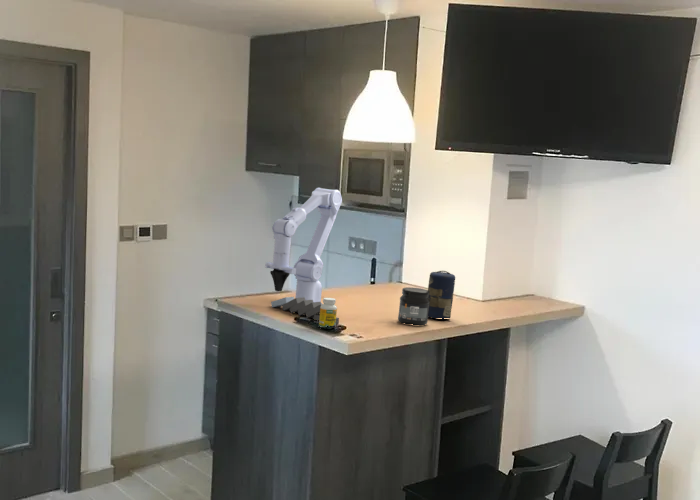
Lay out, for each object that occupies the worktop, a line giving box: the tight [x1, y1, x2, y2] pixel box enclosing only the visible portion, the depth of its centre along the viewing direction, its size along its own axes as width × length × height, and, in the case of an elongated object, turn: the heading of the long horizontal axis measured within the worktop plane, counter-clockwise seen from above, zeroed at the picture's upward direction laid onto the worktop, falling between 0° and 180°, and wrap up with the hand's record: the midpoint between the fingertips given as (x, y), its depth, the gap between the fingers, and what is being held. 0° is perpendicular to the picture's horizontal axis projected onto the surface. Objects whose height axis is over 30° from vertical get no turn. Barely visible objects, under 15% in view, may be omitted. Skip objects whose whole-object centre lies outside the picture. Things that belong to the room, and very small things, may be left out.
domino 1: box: [270, 296, 295, 308], centre depth 270 cm, size 2×4×8 cm
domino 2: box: [281, 297, 305, 312], centre depth 266 cm, size 2×4×8 cm
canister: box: [427, 270, 456, 319], centre depth 280 cm, size 10×10×18 cm
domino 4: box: [297, 301, 322, 316], centre depth 260 cm, size 2×4×8 cm
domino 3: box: [289, 300, 313, 314], centre depth 263 cm, size 2×4×8 cm
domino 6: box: [312, 314, 340, 325], centre depth 254 cm, size 2×4×8 cm
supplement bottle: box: [318, 297, 338, 327], centre depth 245 cm, size 5×5×10 cm
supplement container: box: [397, 286, 430, 326], centre depth 267 cm, size 10×10×12 cm
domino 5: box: [305, 303, 323, 319], centre depth 257 cm, size 2×4×8 cm
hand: (278, 290), depth 271 cm, fingers closed
